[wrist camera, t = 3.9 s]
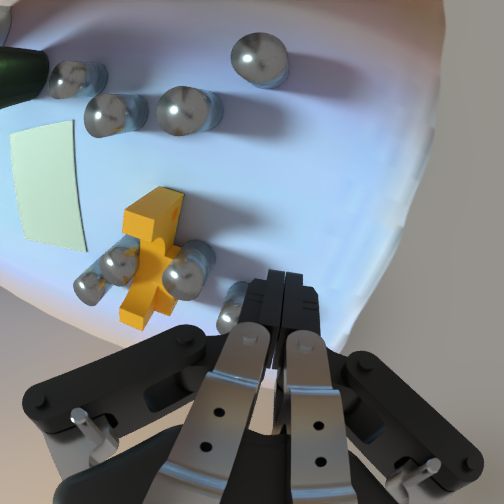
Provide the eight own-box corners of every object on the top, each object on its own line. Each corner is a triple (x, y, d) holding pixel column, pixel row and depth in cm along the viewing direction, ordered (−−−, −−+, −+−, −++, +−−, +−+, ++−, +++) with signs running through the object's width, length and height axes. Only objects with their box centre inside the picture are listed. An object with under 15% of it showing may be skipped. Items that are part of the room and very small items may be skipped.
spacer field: (83, 67, 19) (50, 66, 15) (290, 51, 17) (289, 34, 13) (99, 279, 31) (78, 301, 27) (259, 311, 30) (253, 344, 25)
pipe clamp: (179, 298, 30) (159, 337, 25) (144, 285, 30) (119, 321, 24) (202, 199, 25) (176, 227, 19) (159, 186, 24) (124, 209, 19)
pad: (10, 133, 23) (9, 134, 23) (73, 119, 22) (72, 119, 22) (25, 238, 31) (24, 238, 31) (86, 251, 30) (86, 252, 30)
